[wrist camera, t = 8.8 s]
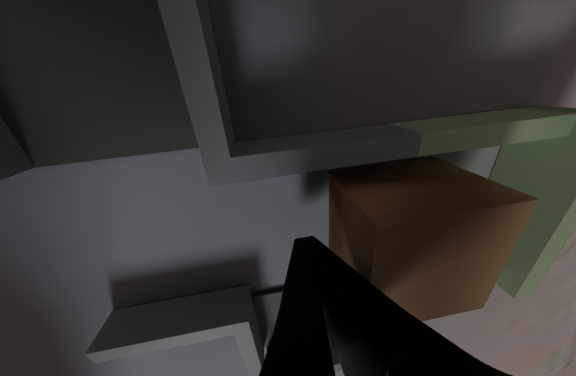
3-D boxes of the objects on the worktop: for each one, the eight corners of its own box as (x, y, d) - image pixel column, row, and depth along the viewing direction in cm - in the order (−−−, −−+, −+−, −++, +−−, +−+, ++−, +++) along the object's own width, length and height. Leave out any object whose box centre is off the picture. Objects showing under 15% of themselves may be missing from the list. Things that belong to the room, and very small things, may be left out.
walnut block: (329, 256, 11) (363, 334, 8) (329, 172, 9) (377, 227, 6) (413, 241, 12) (482, 307, 8) (433, 157, 10) (539, 199, 6)
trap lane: (159, 373, 14) (136, 442, 11) (-172, -75, 5) (-754, -295, 2) (450, 309, 16) (490, 355, 13) (618, -90, 7) (865, -208, 4)
